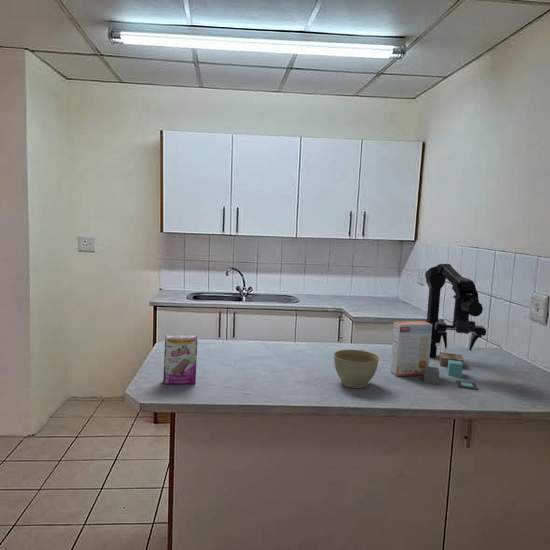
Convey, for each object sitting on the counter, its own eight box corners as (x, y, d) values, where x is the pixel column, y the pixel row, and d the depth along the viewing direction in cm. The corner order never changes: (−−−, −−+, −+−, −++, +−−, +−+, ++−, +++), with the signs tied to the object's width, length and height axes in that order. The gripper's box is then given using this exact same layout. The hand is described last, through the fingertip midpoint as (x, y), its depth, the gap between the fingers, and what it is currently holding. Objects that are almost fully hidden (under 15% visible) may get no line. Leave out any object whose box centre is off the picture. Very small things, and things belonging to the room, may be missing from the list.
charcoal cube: (424, 382, 189) (425, 369, 188) (423, 378, 194) (424, 366, 193) (438, 384, 188) (439, 371, 187) (437, 380, 193) (438, 367, 192)
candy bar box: (163, 385, 171) (164, 338, 169) (163, 380, 176) (164, 335, 174) (196, 384, 173) (197, 338, 171) (195, 379, 178) (196, 334, 176)
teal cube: (448, 375, 199) (449, 363, 199) (447, 371, 204) (448, 360, 204) (461, 377, 198) (462, 364, 198) (460, 373, 203) (461, 361, 202)
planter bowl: (340, 374, 193) (342, 346, 192) (381, 382, 186) (384, 354, 185) (325, 385, 179) (327, 356, 178) (368, 395, 172) (371, 365, 171)
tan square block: (440, 366, 212) (441, 357, 211) (439, 361, 220) (439, 352, 220) (462, 369, 209) (463, 360, 209) (460, 363, 218) (461, 354, 217)
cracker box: (420, 371, 203) (425, 320, 200) (428, 375, 197) (433, 324, 195) (389, 371, 200) (393, 320, 197) (396, 376, 194) (400, 324, 191)
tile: (458, 387, 185) (458, 386, 185) (455, 381, 192) (455, 380, 192) (478, 389, 184) (478, 388, 184) (475, 383, 191) (475, 382, 191)
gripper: (439, 312, 192) (435, 352, 194) (490, 317, 189) (486, 357, 190) (436, 307, 203) (432, 345, 205) (485, 312, 199) (481, 350, 201)
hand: (457, 349), depth 200 cm, fingers open, 9 cm apart
